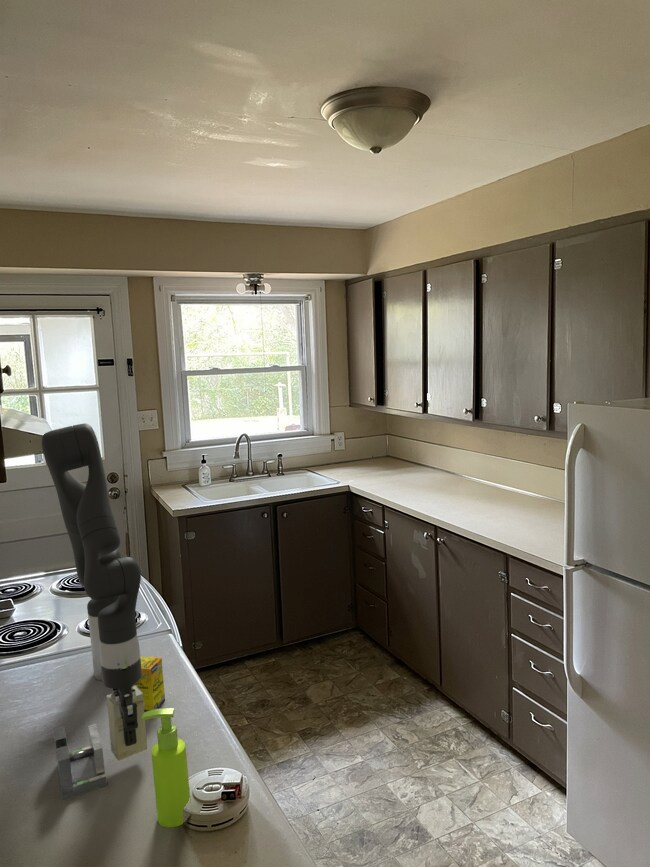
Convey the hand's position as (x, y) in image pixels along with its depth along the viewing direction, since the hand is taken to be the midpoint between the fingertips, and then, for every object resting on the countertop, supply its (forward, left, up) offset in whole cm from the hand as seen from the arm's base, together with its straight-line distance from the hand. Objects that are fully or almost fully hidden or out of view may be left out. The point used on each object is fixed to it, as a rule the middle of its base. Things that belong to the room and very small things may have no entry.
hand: (128, 736), depth 129 cm
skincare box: (0, 0, -3) cm, 3 cm away
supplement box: (-21, +8, -6) cm, 23 cm away
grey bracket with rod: (-2, -9, -6) cm, 11 cm away
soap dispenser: (+19, +4, -6) cm, 21 cm away
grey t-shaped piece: (-2, -9, -5) cm, 10 cm away
